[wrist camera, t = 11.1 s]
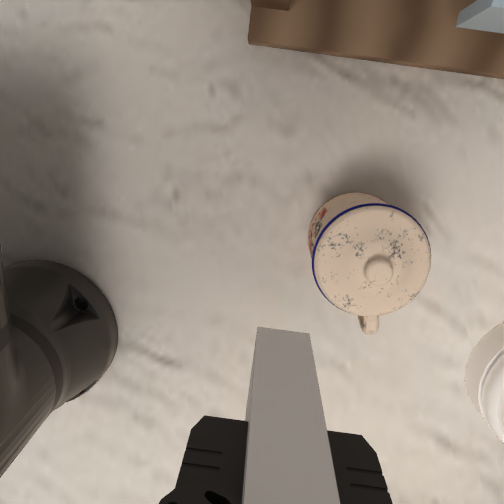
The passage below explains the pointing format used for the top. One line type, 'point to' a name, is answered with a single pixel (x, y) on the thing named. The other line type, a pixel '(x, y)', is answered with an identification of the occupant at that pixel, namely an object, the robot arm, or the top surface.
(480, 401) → the honey pot
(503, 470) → the top surface
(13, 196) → the top surface
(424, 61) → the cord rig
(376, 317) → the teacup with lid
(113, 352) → the robot arm
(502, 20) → the light blue slider block
